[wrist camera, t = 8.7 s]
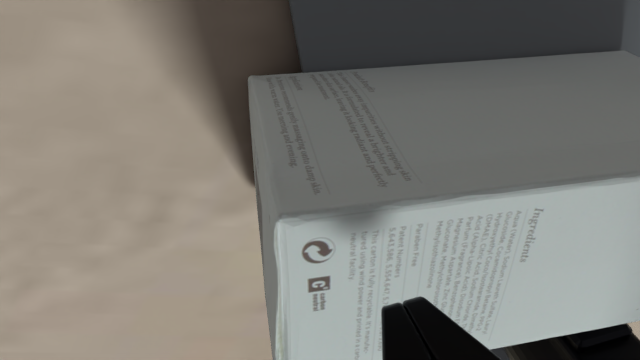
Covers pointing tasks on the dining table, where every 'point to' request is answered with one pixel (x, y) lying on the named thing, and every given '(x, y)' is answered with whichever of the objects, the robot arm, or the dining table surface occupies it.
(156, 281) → the dining table surface
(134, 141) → the dining table surface
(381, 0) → the mat
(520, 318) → the skincare box
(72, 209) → the dining table surface
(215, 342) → the dining table surface
